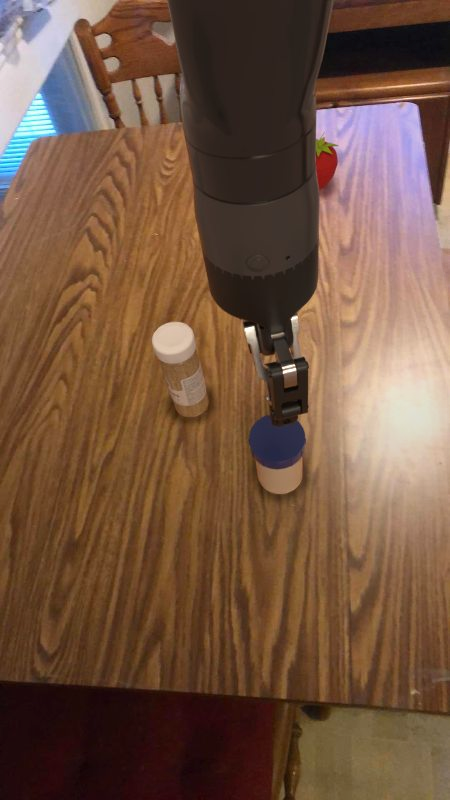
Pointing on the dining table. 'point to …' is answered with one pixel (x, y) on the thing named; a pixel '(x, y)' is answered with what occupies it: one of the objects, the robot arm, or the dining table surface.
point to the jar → (280, 477)
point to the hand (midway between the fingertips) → (272, 383)
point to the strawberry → (325, 161)
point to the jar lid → (276, 443)
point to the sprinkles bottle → (181, 367)
